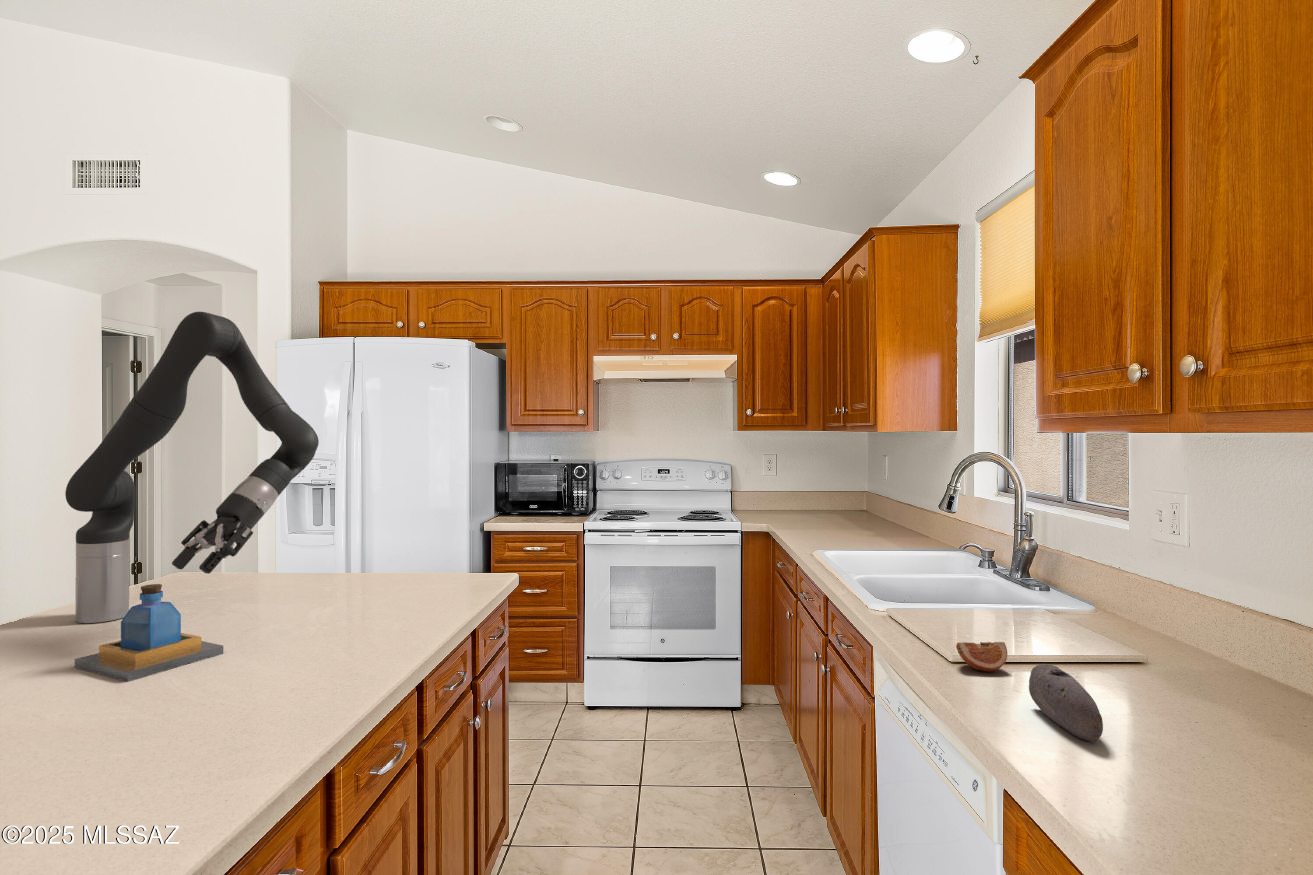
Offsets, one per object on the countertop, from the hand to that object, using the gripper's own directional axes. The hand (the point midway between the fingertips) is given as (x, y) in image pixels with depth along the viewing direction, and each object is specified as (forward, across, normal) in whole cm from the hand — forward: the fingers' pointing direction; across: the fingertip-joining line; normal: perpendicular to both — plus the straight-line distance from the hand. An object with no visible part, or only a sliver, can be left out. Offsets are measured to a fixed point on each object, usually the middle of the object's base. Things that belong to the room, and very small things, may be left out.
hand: (189, 568), depth 129 cm
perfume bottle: (+15, 0, +5) cm, 16 cm away
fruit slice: (-28, +137, +49) cm, 148 cm away
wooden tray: (+16, 0, +6) cm, 17 cm away
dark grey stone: (-13, +148, +34) cm, 152 cm away
